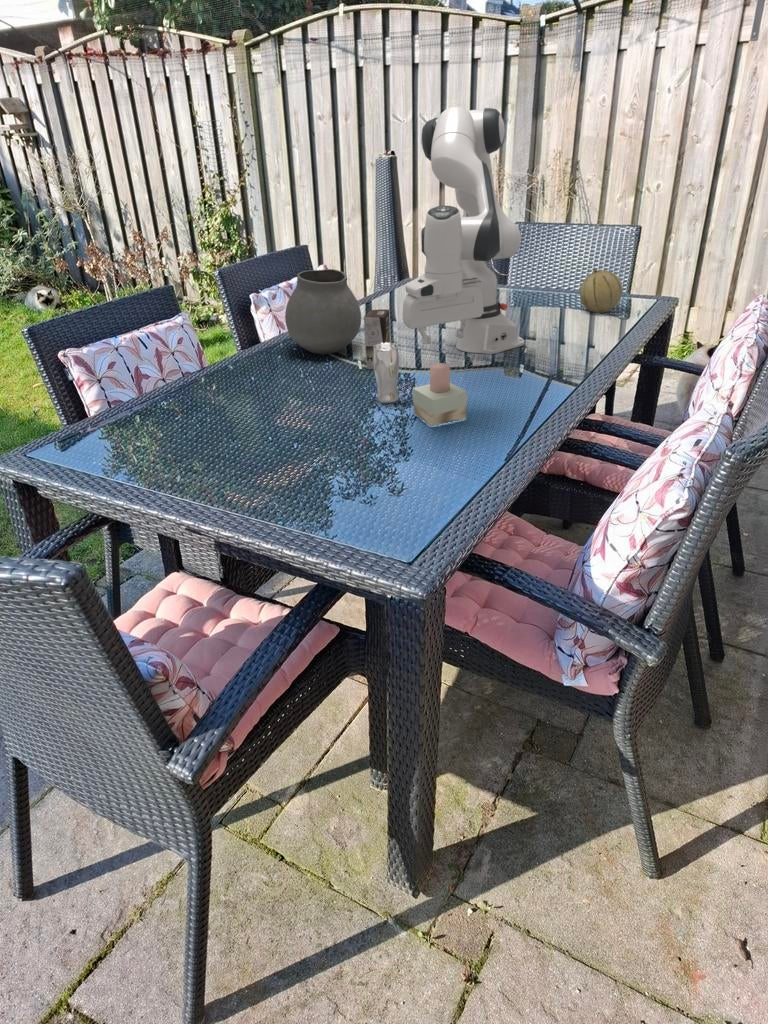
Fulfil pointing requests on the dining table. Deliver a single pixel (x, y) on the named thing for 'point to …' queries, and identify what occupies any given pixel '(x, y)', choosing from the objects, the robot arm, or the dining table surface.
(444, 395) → the tower top
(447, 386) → the rose cylinder
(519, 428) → the dining table surface
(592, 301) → the cantaloupe
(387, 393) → the beer glass
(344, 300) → the ceramic pot
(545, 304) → the dining table surface
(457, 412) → the tower base
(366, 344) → the coffee box
